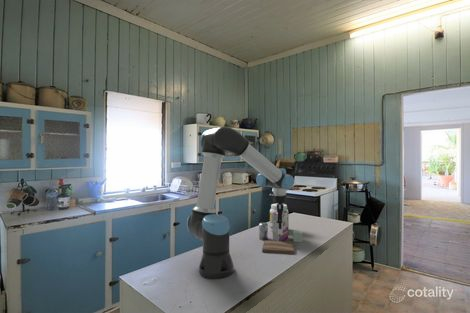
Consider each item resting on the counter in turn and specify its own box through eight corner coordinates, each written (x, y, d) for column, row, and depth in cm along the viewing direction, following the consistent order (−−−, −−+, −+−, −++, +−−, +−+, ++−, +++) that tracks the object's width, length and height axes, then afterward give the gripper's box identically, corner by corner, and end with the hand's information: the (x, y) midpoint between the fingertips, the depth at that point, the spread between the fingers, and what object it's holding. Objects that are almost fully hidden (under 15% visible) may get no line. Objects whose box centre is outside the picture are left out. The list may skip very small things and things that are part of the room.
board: (293, 254, 129) (293, 251, 129) (262, 252, 132) (262, 249, 132) (292, 244, 143) (292, 241, 143) (264, 242, 146) (264, 240, 146)
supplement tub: (280, 234, 160) (279, 207, 160) (266, 230, 170) (265, 204, 169) (292, 230, 168) (292, 205, 168) (278, 226, 177) (278, 202, 177)
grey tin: (267, 240, 150) (267, 225, 150) (258, 239, 151) (258, 224, 151) (267, 237, 155) (267, 222, 155) (259, 237, 156) (259, 222, 156)
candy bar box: (280, 236, 157) (280, 209, 157) (288, 237, 154) (288, 210, 154) (272, 241, 148) (271, 213, 148) (279, 243, 145) (279, 214, 145)
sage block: (302, 242, 146) (302, 233, 146) (293, 241, 147) (293, 233, 147) (301, 239, 151) (301, 230, 151) (293, 238, 152) (293, 230, 152)
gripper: (286, 198, 138) (287, 237, 138) (286, 191, 162) (286, 224, 162) (272, 198, 139) (273, 237, 139) (274, 191, 164) (274, 224, 164)
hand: (280, 230), depth 151 cm, fingers open, 13 cm apart
